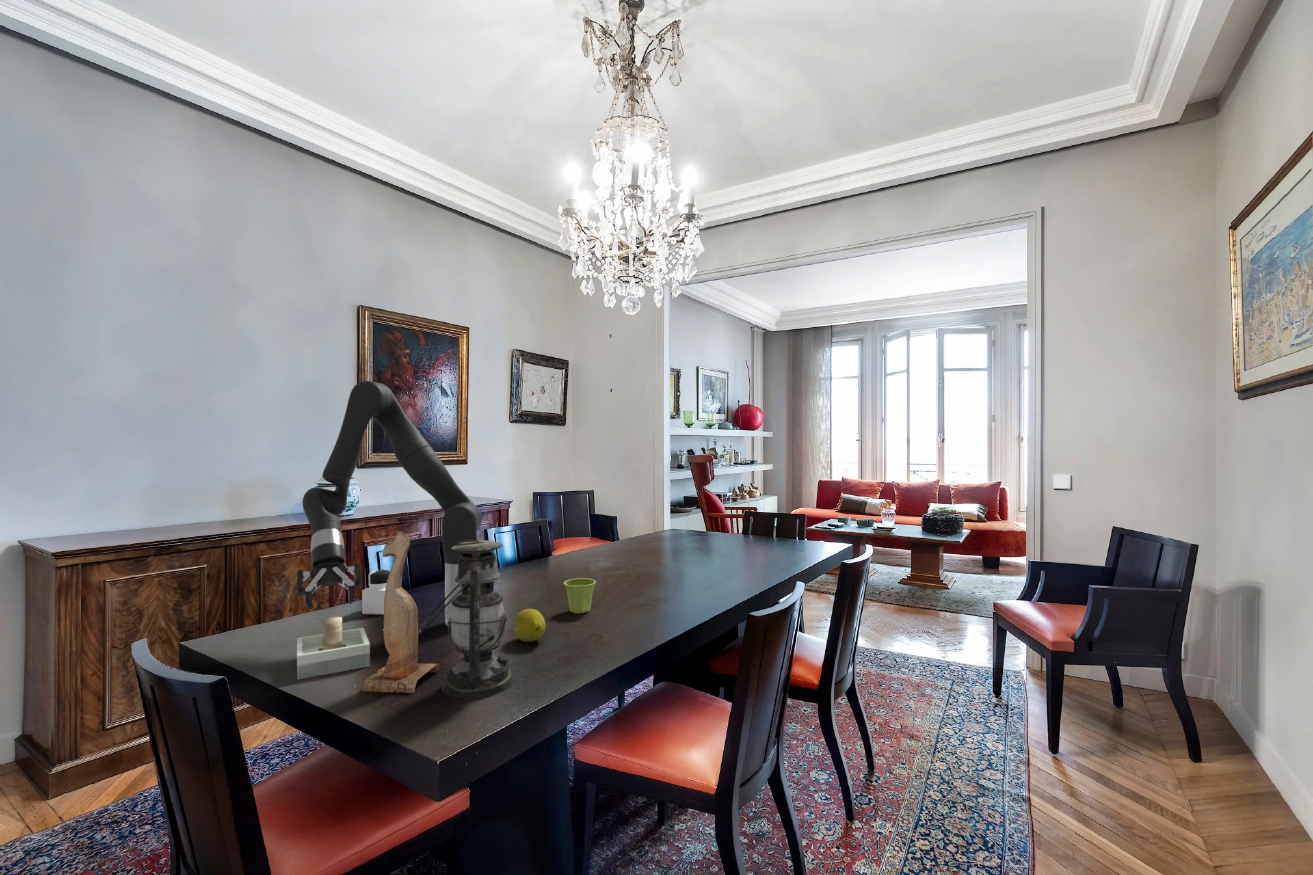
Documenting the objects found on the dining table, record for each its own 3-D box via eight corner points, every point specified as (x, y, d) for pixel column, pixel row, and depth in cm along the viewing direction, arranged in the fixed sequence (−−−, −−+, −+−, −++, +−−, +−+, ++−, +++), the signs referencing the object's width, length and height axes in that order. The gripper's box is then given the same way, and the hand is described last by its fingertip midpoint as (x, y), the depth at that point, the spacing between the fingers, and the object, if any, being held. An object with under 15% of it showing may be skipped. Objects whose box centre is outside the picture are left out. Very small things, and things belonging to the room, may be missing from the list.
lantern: (512, 699, 115) (511, 546, 116) (408, 709, 111) (408, 550, 112) (514, 664, 134) (514, 532, 134) (425, 671, 130) (425, 535, 130)
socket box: (363, 647, 145) (363, 627, 145) (369, 666, 133) (369, 644, 133) (296, 659, 138) (296, 637, 138) (297, 679, 126) (297, 656, 126)
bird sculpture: (388, 672, 130) (383, 528, 130) (440, 671, 130) (435, 526, 130) (361, 694, 119) (355, 536, 119) (418, 693, 119) (412, 534, 119)
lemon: (510, 636, 153) (510, 605, 153) (541, 633, 155) (540, 602, 156) (516, 650, 143) (516, 617, 143) (549, 646, 145) (548, 613, 145)
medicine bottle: (397, 607, 180) (397, 568, 180) (384, 614, 173) (384, 573, 173) (375, 607, 181) (375, 568, 181) (361, 614, 174) (361, 573, 174)
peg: (345, 659, 137) (345, 616, 138) (337, 665, 133) (337, 621, 134) (327, 659, 137) (327, 616, 137) (318, 666, 133) (318, 622, 133)
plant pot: (593, 615, 171) (593, 585, 171) (561, 615, 171) (561, 585, 171) (597, 606, 180) (597, 578, 180) (566, 606, 180) (566, 578, 180)
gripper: (295, 544, 147) (296, 601, 137) (359, 538, 154) (364, 591, 145) (295, 562, 151) (296, 618, 142) (357, 555, 159) (362, 608, 149)
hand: (331, 604), depth 143 cm, fingers open, 8 cm apart
